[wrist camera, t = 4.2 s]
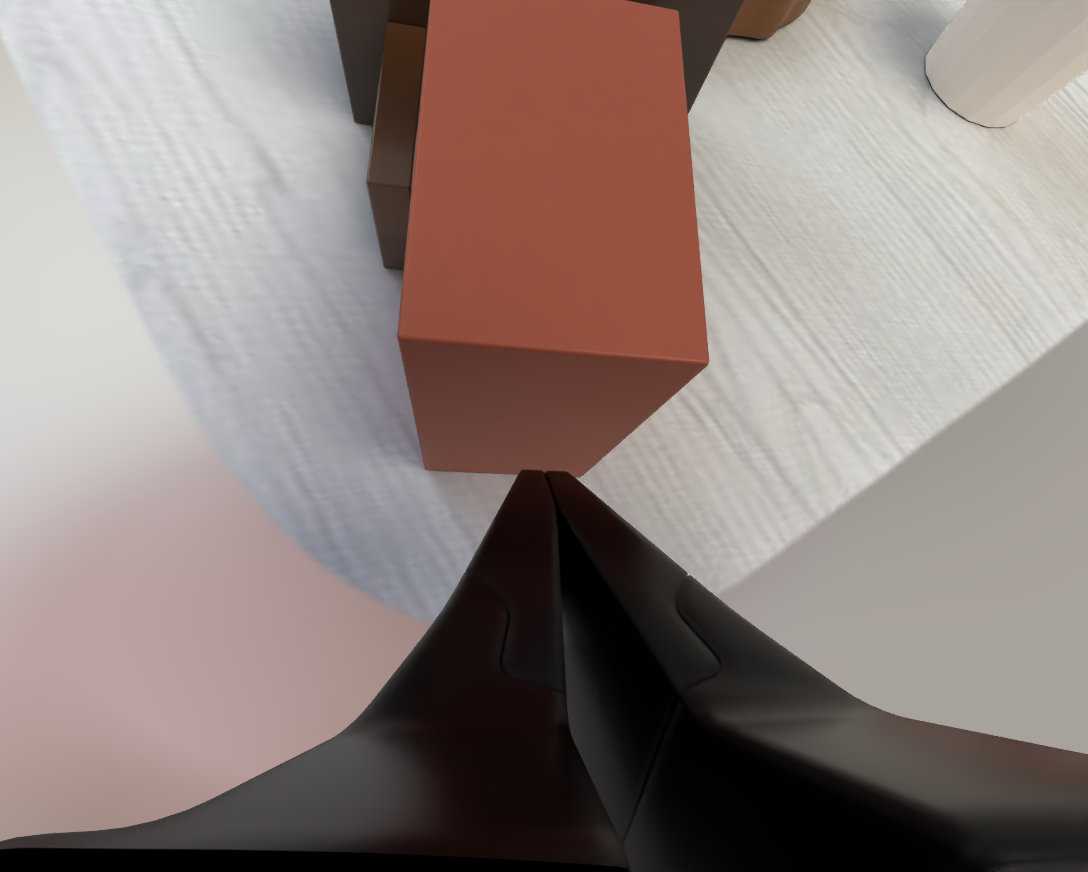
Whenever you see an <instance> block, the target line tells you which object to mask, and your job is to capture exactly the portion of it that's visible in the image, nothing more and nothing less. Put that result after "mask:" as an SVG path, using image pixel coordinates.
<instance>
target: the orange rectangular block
mask: <svg viewBox="0 0 1088 872" xmlns="http://www.w3.org/2000/svg"><path fill="white" fill-rule="evenodd" d="M397 338H398V342H399V347H400V352H401V357H402V361H403V366H404V371H405V376H406V380H407V385H408V390H409V395H410V399H411V404H412V409H413V414H414V418H415V423H416V428H417V433H418V437H419V442H420V447H421V452H422V456H423V461H424V466H425V469H426V470H435V471H457V472H479V473H502V474H519V472H520V471H521V470H523V469H530V470H542V471H544V473H545V472H546V471H549V470H552V471H567V472H569V473H570V474H571V475H572V476H574V477H582V476H583V475H584V474H585V473H586V472H587V471H588V470H590V469H591V468H592V467H593V466H594V465H595V464H596V463H598V462H599V461H600V460H601V459H602V458H603V457H604V456H605V455H607V454H608V453H609V452H610V451H611V450H612V449H613V448H615V447H616V446H617V445H618V444H619V443H620V442H621V441H622V440H624V439H625V438H626V437H627V436H628V435H629V434H630V433H632V432H633V431H634V430H635V429H636V428H637V427H638V426H639V425H641V424H642V423H643V422H644V421H645V420H646V419H647V418H649V417H650V416H651V415H652V414H653V413H654V412H655V411H656V410H658V409H659V408H660V407H661V406H662V405H663V404H664V403H666V402H667V401H668V400H669V399H670V398H671V397H672V396H673V395H675V394H676V393H677V392H678V391H679V390H680V389H681V388H682V387H684V386H685V385H686V384H687V383H688V382H689V381H690V380H692V379H693V378H694V377H695V376H696V375H697V374H698V373H699V372H701V371H702V370H703V369H704V368H705V367H706V366H707V365H708V363H709V354H708V343H707V331H706V320H705V308H704V297H703V286H702V274H701V263H700V251H699V240H698V228H697V217H696V206H695V194H694V183H693V171H692V160H691V149H690V137H689V126H688V114H687V103H686V91H685V80H684V69H683V57H682V46H681V34H680V23H679V12H678V11H676V10H673V9H668V8H663V7H657V6H652V5H647V4H642V3H637V2H632V1H627V0H430V7H429V17H428V27H427V37H426V48H425V58H424V68H423V78H422V88H421V99H420V109H419V119H418V129H417V139H416V149H415V160H414V170H413V180H412V190H411V200H410V211H409V221H408V231H407V241H406V251H405V261H404V272H403V282H402V292H401V302H400V312H399V323H398V333H397Z"/></svg>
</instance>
